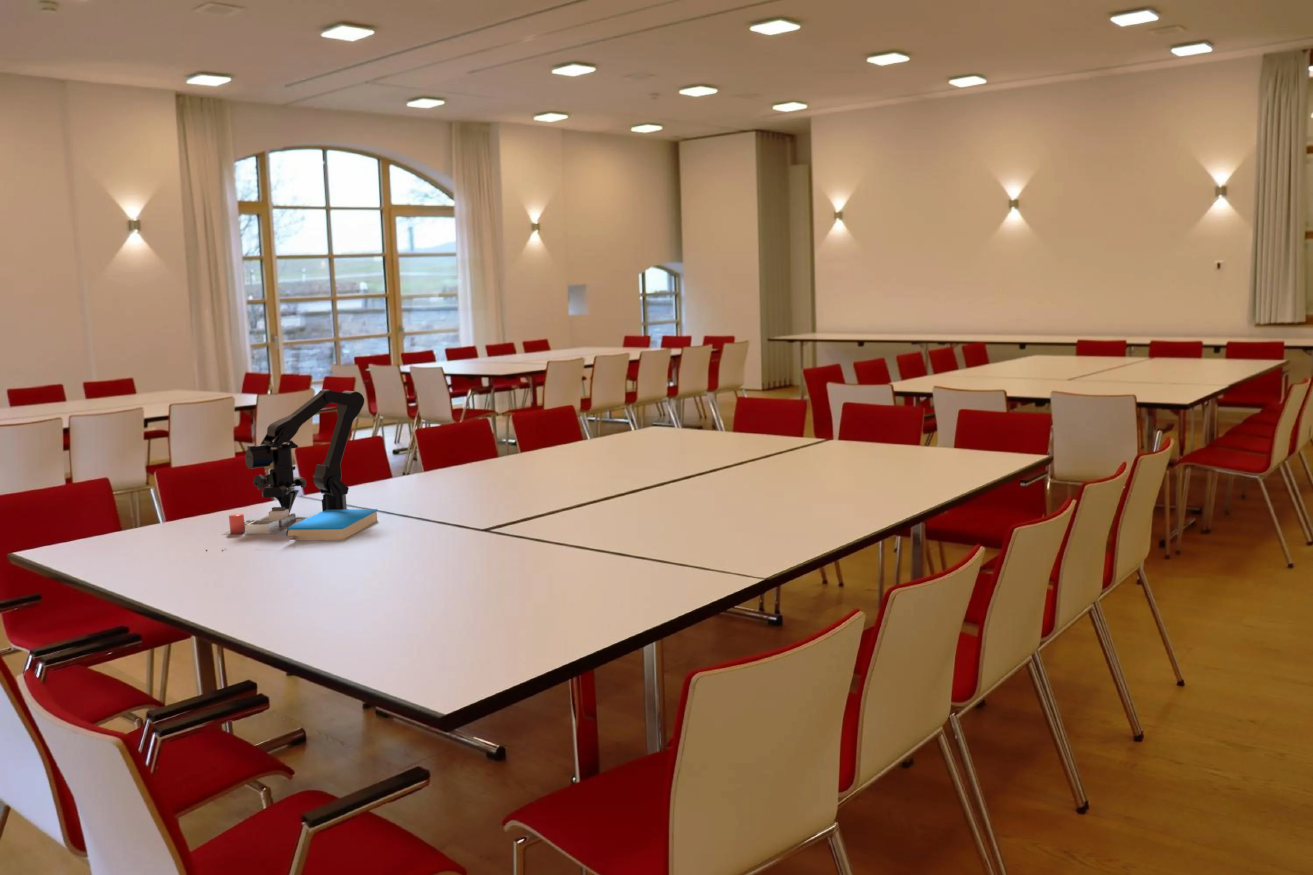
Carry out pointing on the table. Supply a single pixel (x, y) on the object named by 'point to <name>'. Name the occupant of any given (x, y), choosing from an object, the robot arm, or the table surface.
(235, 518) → the cap
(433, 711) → the table surface
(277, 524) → the panel
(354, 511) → the book
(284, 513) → the breaker
